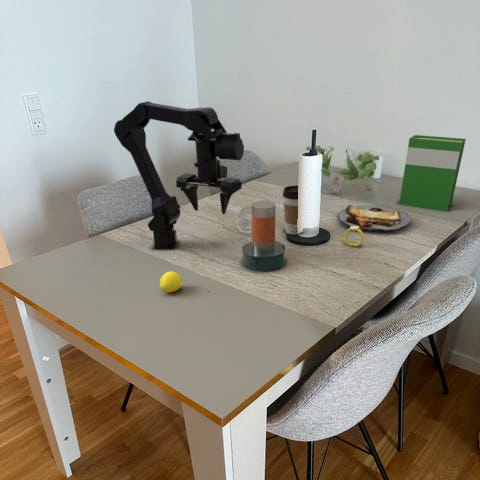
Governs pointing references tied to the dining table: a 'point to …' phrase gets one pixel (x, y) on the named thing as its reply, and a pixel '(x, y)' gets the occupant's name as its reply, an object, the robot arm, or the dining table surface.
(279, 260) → the pot
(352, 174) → the plant cuttings
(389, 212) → the food plate
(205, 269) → the dining table surface
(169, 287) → the lemon
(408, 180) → the hardback book
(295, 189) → the coffee cup
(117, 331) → the dining table surface
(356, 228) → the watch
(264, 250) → the can
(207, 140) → the robot arm
